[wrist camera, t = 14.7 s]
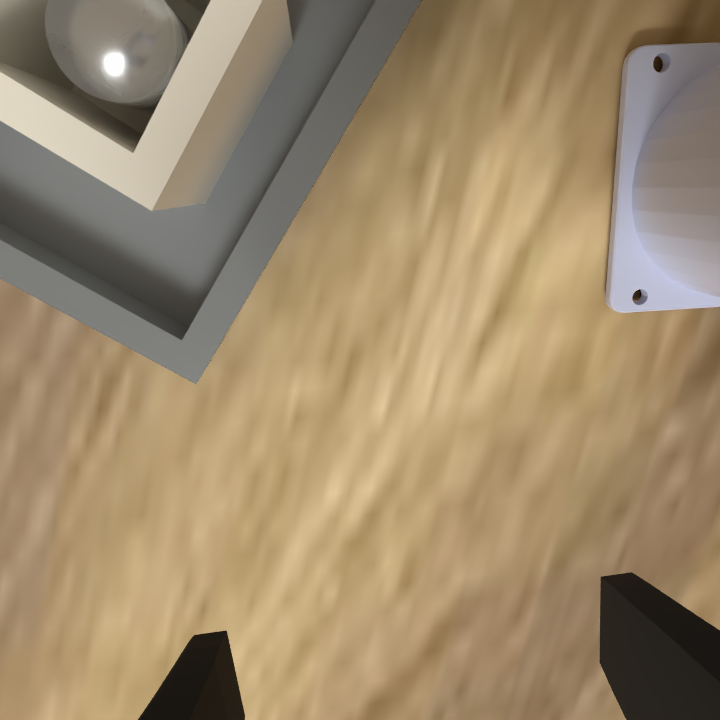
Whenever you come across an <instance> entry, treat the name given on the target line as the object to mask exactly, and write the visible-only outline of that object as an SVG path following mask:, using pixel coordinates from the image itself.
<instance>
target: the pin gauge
mask: <svg viewBox="0 0 720 720" xmlns="http://www.w3.org/2000/svg"><path fill="white" fill-rule="evenodd" d="M45 32H46V37H47V41H48V44H49V48H50V50H51V53H52V55H53V57H54V59H55V61H56V63H57V64H58V66H59V67H60V69H61V70H62V72H63V73H64V74H65V75H66V76H67V77H68V78H69V80H70V81H71V82H73V83H74V84H75V85H76V86H77V87H79V88H80V89H82V90H83V91H84V92H86V93H88V94H90V95H92V96H94V97H97V98H100V99H103V100H106V101H110V102H113V103H116V104H120V105H123V106H127V107H130V108H134V109H137V110H141V111H144V112H148V113H151V114H153V113H154V111H155V109H156V107H157V105H158V103H159V101H160V99H161V97H162V95H163V93H164V92H165V90H166V88H167V86H168V84H169V82H170V80H171V78H172V76H173V74H174V72H175V70H176V68H177V66H178V64H179V62H180V60H181V58H182V56H183V54H184V52H185V50H186V48H187V46H188V44H189V42H190V40H191V38H192V36H193V34H194V33H193V32H192V31H191V30H190V29H189V28H188V27H187V25H186V24H185V23H184V22H183V21H182V20H181V19H180V18H179V16H178V15H177V14H176V13H175V12H174V11H173V10H172V9H171V7H170V6H169V5H168V4H167V3H166V2H165V1H164V0H48V2H47V6H46V12H45Z"/></svg>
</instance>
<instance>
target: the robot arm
mask: <svg viewBox="0 0 720 720" xmlns="http://www.w3.org/2000/svg"><path fill="white" fill-rule="evenodd" d="M656 56H658V57H660V58H661V59H662V62H663V66H662V70H661V71H660V72H656V70H655V69H654V67H653V61H654V58H655V57H656ZM639 289H640V290H641V294H642V295H641V297H640V299H639V300H638V301H637V302H633V300H632V297H633V294H634V293H635V292H636V291H637V290H639ZM606 303H607V305H608V306H609V308H611V309H613V310H615V311H617V312H622V313H625V312H642V311H658V310H674V309H690V308H706V307H720V42H716V43H687V44H659V45H644V46H640V47H638V48H635V49H634V50H632V51H631V52H630V53H628V55H627V57H626V58H625V60H624V64H623V72H622V85H621V98H620V112H619V125H618V138H617V151H616V165H615V178H614V191H613V204H612V218H611V231H610V244H609V257H608V271H607V284H606ZM600 664H601V666H602V669H603V671H604V673H605V675H606V677H607V680H608V682H609V684H610V686H611V688H612V691H613V693H614V695H615V697H616V699H617V701H618V703H619V705H620V707H621V709H622V711H623V714H624V716H625V718H626V719H627V720H720V630H718V629H717V628H715V627H714V626H712V625H710V624H709V623H707V622H706V621H704V620H703V619H701V618H700V617H698V616H697V615H695V614H694V613H692V612H691V611H689V610H688V609H686V608H685V607H683V606H682V605H680V604H679V603H677V602H676V601H674V600H673V599H671V598H670V597H668V596H667V595H666V594H664V593H663V592H661V591H660V590H658V589H657V588H655V587H654V586H652V585H651V584H649V583H648V582H646V581H644V580H643V579H641V578H640V577H638V576H637V575H635V574H633V573H632V572H631V573H624V574H617V575H610V576H603V577H601V601H600ZM138 720H245V714H244V709H243V705H242V700H241V695H240V691H239V686H238V681H237V677H236V672H235V667H234V663H233V658H232V653H231V649H230V644H229V640H228V635H227V631H220V632H213V633H206V634H199V635H194V636H193V637H192V638H191V640H190V641H189V642H188V644H187V646H186V647H185V649H184V650H183V652H182V653H181V655H180V657H179V658H178V660H177V661H176V663H175V664H174V666H173V668H172V669H171V671H170V672H169V674H168V675H167V677H166V679H165V680H164V682H163V683H162V685H161V686H160V688H159V689H158V691H157V692H156V694H155V695H154V697H153V698H152V700H151V701H150V703H149V704H148V706H147V707H146V709H145V710H144V712H143V713H142V714H141V716H140V717H139V719H138Z"/></svg>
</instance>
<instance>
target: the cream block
mask: <svg viewBox="0 0 720 720" xmlns="http://www.w3.org/2000/svg"><path fill="white" fill-rule="evenodd" d="M164 1H165V2H166V3H167V4H168V5H169V6H170V7H171V9H172V10H173V11H174V12H175V13H176V14H177V15H178V16H179V18H180V19H181V20H182V21H183V22H184V23H185V24H186V25H187V27H188V28H189V29H190V30H191V31H192V32H193V33H194V34H193V36H192V38H191V40H190V42H189V44H188V46H187V48H186V50H185V52H184V54H183V56H182V58H181V60H180V62H179V64H178V66H177V68H176V70H175V72H174V74H173V76H172V78H171V80H170V82H169V84H168V86H167V88H166V90H165V92H164V93H163V95H162V97H161V99H160V101H159V103H158V105H157V107H156V109H155V111H154V113H153V114H151V113H148V112H144V111H141V110H137V109H134V108H130V107H127V106H123V105H120V104H116V103H113V102H110V101H106V100H103V99H100V98H97V97H94V96H92V95H90V94H88V93H86V92H84V91H83V90H82V89H80V88H79V87H77V86H76V85H75V84H74V83H73V82H71V81H70V80H69V78H68V77H67V76H66V75H65V74H64V73H63V72H62V70H61V69H60V67H59V66H58V64H57V63H56V61H55V59H54V57H53V55H52V53H51V50H50V48H49V44H48V41H47V37H46V32H45V12H46V6H47V2H48V0H0V121H2V122H3V123H5V124H7V125H8V126H10V127H12V128H13V129H15V130H17V131H18V132H20V133H22V134H23V135H25V136H27V137H28V138H30V139H32V140H33V141H35V142H37V143H39V144H40V145H42V146H44V147H45V148H47V149H49V150H50V151H52V152H54V153H55V154H57V155H59V156H60V157H62V158H64V159H65V160H67V161H69V162H70V163H72V164H74V165H75V166H77V167H79V168H80V169H82V170H84V171H85V172H87V173H89V174H91V175H92V176H94V177H96V178H97V179H99V180H101V181H102V182H104V183H106V184H107V185H109V186H111V187H112V188H114V189H116V190H117V191H119V192H121V193H122V194H124V195H126V196H127V197H129V198H131V199H132V200H134V201H136V202H137V203H139V204H141V205H143V206H144V207H146V208H148V209H149V210H151V211H156V210H163V209H170V208H177V207H184V206H191V205H198V204H205V203H206V202H207V200H208V198H209V196H210V194H211V192H212V191H213V189H214V187H215V185H216V183H217V181H218V180H219V178H220V176H221V174H222V172H223V170H224V169H225V167H226V165H227V163H228V161H229V159H230V158H231V156H232V154H233V152H234V150H235V148H236V147H237V145H238V143H239V141H240V139H241V137H242V135H243V134H244V132H245V130H246V128H247V126H248V124H249V123H250V121H251V119H252V117H253V115H254V113H255V112H256V110H257V108H258V106H259V104H260V102H261V101H262V99H263V97H264V95H265V93H266V91H267V90H268V88H269V86H270V84H271V82H272V80H273V79H274V77H275V75H276V73H277V71H278V69H279V68H280V66H281V64H282V62H283V60H284V58H285V57H286V55H287V53H288V51H289V49H290V47H291V46H292V44H293V39H292V32H291V26H290V20H289V13H288V7H287V0H164Z"/></svg>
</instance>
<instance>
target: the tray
mask: <svg viewBox="0 0 720 720" xmlns="http://www.w3.org/2000/svg"><path fill="white" fill-rule="evenodd" d="M421 1H422V0H287V7H288V13H289V20H290V26H291V32H292V39H293V44H292V46H291V47H290V49H289V51H288V53H287V55H286V57H285V58H284V60H283V62H282V64H281V66H280V68H279V69H278V71H277V73H276V75H275V77H274V79H273V80H272V82H271V84H270V86H269V88H268V90H267V91H266V93H265V95H264V97H263V99H262V101H261V102H260V104H259V106H258V108H257V110H256V112H255V113H254V115H253V117H252V119H251V121H250V123H249V124H248V126H247V128H246V130H245V132H244V134H243V135H242V137H241V139H240V141H239V143H238V145H237V147H236V148H235V150H234V152H233V154H232V156H231V158H230V159H229V161H228V163H227V165H226V167H225V169H224V170H223V172H222V174H221V176H220V178H219V180H218V181H217V183H216V185H215V187H214V189H213V191H212V192H211V194H210V196H209V198H208V200H207V202H206V203H205V204H198V205H191V206H184V207H177V208H170V209H163V210H156V211H151V210H149V209H148V208H146V207H144V206H143V205H141V204H139V203H137V202H136V201H134V200H132V199H131V198H129V197H127V196H126V195H124V194H122V193H121V192H119V191H117V190H116V189H114V188H112V187H111V186H109V185H107V184H106V183H104V182H102V181H101V180H99V179H97V178H96V177H94V176H92V175H91V174H89V173H87V172H85V171H84V170H82V169H80V168H79V167H77V166H75V165H74V164H72V163H70V162H69V161H67V160H65V159H64V158H62V157H60V156H59V155H57V154H55V153H54V152H52V151H50V150H49V149H47V148H45V147H44V146H42V145H40V144H39V143H37V142H35V141H33V140H32V139H30V138H28V137H27V136H25V135H23V134H22V133H20V132H18V131H17V130H15V129H13V128H12V127H10V126H8V125H7V124H5V123H3V122H2V121H0V279H2V280H4V281H6V282H8V283H10V284H11V285H13V286H15V287H17V288H19V289H21V290H22V291H24V292H26V293H28V294H30V295H32V296H34V297H35V298H37V299H39V300H41V301H43V302H45V303H47V304H48V305H50V306H52V307H54V308H56V309H58V310H60V311H61V312H63V313H65V314H67V315H69V316H71V317H73V318H74V319H76V320H78V321H80V322H82V323H84V324H85V325H87V326H89V327H91V328H93V329H95V330H97V331H98V332H100V333H102V334H104V335H106V336H108V337H110V338H111V339H113V340H115V341H117V342H119V343H121V344H123V345H124V346H126V347H128V348H130V349H132V350H134V351H135V352H137V353H139V354H141V355H143V356H145V357H147V358H148V359H150V360H152V361H154V362H156V363H158V364H160V365H161V366H163V367H165V368H167V369H169V370H171V371H173V372H174V373H176V374H178V375H180V376H182V377H184V378H185V379H187V380H189V381H191V382H193V383H195V384H197V382H198V381H199V379H200V377H201V376H202V374H203V372H204V371H205V369H206V367H207V366H208V364H209V362H210V361H211V359H212V357H213V355H214V354H215V352H216V350H217V349H218V347H219V345H220V344H221V342H222V340H223V338H224V337H225V335H226V333H227V332H228V330H229V328H230V327H231V325H232V323H233V321H234V320H235V318H236V316H237V315H238V313H239V311H240V309H241V308H242V306H243V304H244V303H245V301H246V299H247V298H248V296H249V294H250V292H251V291H252V289H253V287H254V286H255V284H256V282H257V281H258V279H259V277H260V275H261V274H262V272H263V270H264V269H265V267H266V265H267V263H268V262H269V260H270V258H271V257H272V255H273V253H274V252H275V250H276V248H277V246H278V245H279V243H280V241H281V240H282V238H283V236H284V234H285V233H286V231H287V229H288V228H289V226H290V224H291V223H292V221H293V219H294V217H295V216H296V214H297V212H298V211H299V209H300V207H301V206H302V204H303V202H304V200H305V199H306V197H307V195H308V194H309V192H310V190H311V188H312V187H313V185H314V183H315V182H316V180H317V178H318V177H319V175H320V173H321V171H322V170H323V168H324V166H325V165H326V163H327V161H328V159H329V158H330V156H331V154H332V153H333V151H334V149H335V148H336V146H337V144H338V142H339V141H340V139H341V137H342V136H343V134H344V132H345V131H346V129H347V127H348V125H349V124H350V122H351V120H352V119H353V117H354V115H355V113H356V112H357V110H358V108H359V107H360V105H361V103H362V102H363V100H364V98H365V96H366V95H367V93H368V91H369V90H370V88H371V86H372V85H373V83H374V81H375V79H376V78H377V76H378V74H379V73H380V71H381V69H382V67H383V66H384V64H385V62H386V61H387V59H388V57H389V56H390V54H391V52H392V50H393V49H394V47H395V45H396V44H397V42H398V40H399V38H400V37H401V35H402V33H403V32H404V30H405V28H406V27H407V25H408V23H409V21H410V20H411V18H412V16H413V15H414V13H415V11H416V10H417V8H418V6H419V4H420V3H421Z"/></svg>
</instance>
